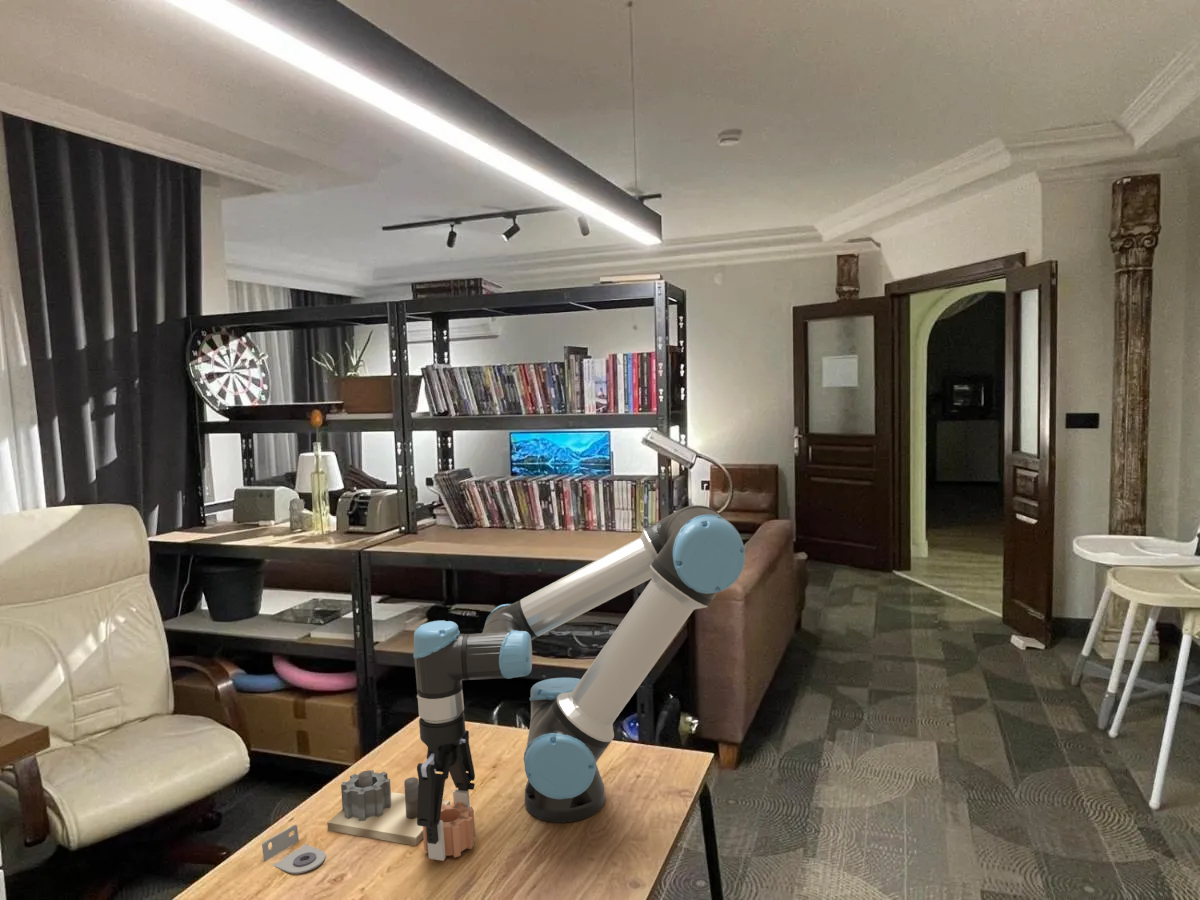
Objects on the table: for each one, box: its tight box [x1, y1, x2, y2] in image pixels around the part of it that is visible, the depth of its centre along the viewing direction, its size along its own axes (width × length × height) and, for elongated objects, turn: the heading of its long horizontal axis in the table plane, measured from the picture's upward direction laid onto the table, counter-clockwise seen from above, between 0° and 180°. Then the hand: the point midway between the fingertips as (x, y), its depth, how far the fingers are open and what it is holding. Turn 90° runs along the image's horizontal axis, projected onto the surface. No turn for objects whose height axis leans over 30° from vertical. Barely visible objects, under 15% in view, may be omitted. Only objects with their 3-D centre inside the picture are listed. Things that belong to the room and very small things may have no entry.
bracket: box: [261, 824, 327, 875], centre depth 129 cm, size 7×10×4 cm, turn 57°
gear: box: [423, 802, 476, 858], centre depth 131 cm, size 8×8×5 cm
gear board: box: [326, 769, 451, 847], centre depth 140 cm, size 18×12×8 cm, turn 73°
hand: (450, 841), depth 131 cm, fingers closed on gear, 9 cm apart
